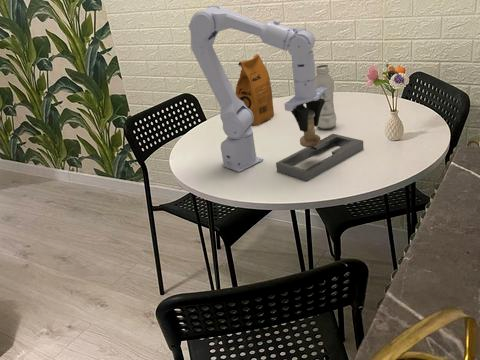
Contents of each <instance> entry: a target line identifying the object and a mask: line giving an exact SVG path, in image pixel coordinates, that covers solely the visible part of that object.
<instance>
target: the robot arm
mask: <svg viewBox="0 0 480 360" xmlns="http://www.w3.org/2000/svg"><path fill="white" fill-rule="evenodd" d="M298 28H299V27H296V26H293V27H291V26H288V25H285V24H283V23H282V24H281V21H280V20H278V19H275V20H269V21H267V22H265V23H264V22H261V21H258V20H255V19H253V18H250V17H248V16H246V15H243V14H240V13H239V12H238V13H237V12H236V11H233V10H231V9H229V8H226V7H220V6H218V5H210V6H207V8H205V9H202V10H200V11H196V12H195V13H194V14H193V15H192V17H191V20H190V22H189V24H188V29H189V31H190V48H191V50H192V51H191V52H193V55H194V58H195V59H196V60H197V63H198V65H199V67H200V69H201V71H202V74H203V75H204V77H205V79H206V81H207V83H208V85H209V87H210V89H211V91H212V92H213V94H214V97H215V98H216V101H217V103H218V105H219V107H220V114H219V117H220V119H221V122H222V130H223V132H224V134H225V135H226V136H227V137H226V138H225V139H224V140H223V141H222V142H221V143H220V151H221V158H222V164H221V165H222V167H224V168H226V169H227V168H228V169H230V170H232V171H235V172H237V173H239V172H240V173H241V172H242V171H243V172H244V170H247V169H248V168H251V167H252V166H254V165H257V164H258V163H261V162H263V161H264V158H262V157H259V156H257V152H256V145H255V139H254V131H253V129H252V125H251V124H252V123H253V120H254V116H253V113H252V112H251V110H250V109H248V108H247V107H246V106H245V104H244V102H243V101H242V100H240V99H238V98H237V96H236V91H235V90H234V88H233V86H232V83H231V81H230V80H229V77H228V75H227V73H226V71H225V70H224V68H223V65H222V63H221V61H220V59H219V57H218V55H217V52H216V51H215V49H214V47H213V45H214V42H215V39H216V37H217V35H218V34H219V33H220V32H222V31H226V30H228V29H231V30H235V31H236V30H237V31H240V32H243V33H247V34H250V35H253V36H257V37H259V38H260V39H261V42H262V43H263V44H266V45H268V46H271V47H274V48H277V49H280V50H283V51H287V52H288V53H289V55H291V68H292V76H293V87H294V96H293V97H291V99H289V100H287V102H285V103H283V104H284V105H283V106H284V111H287V112H290V113H291V114H292V115H293V117H294V119H295V120H296V123H297V126H298V127H299V131H300V132H303V133H304V132H307V130H308V113H309V110H313V111H314V112H315V116H314V127H318V122H319V117H320V113H321V110H322V107H323V105H324V103H325V100H324V99H320V97H321V96H326V95H327V88H324V87H321V88H318V89H317V87H316V76H317V73H316V65H315V64H316V63H315V62H316V61H315V57H314V49H313V48H314V46H315V42H316V41H315V40H316V39H315V36H314V34H313V33H312V32H311V31H310V30H308V29H307V28H300V29H298ZM306 106H307V108H306Z"/></svg>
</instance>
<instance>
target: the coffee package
mask: <svg viewBox="0 0 480 360" xmlns="http://www.w3.org/2000/svg"><path fill="white" fill-rule="evenodd" d="M237 65H238V66H239V67H240V68H241V70H240V72H239V73H240V74H239V78H238V80H237V83H236V87H235V94H236V96H237V98H238V99H240V100H242V101H243V102H244V104H245V106H246V107H247V108H248V109H250V110H251V112H252V113H253V116H254V120H253V123H252V124H251V126H260V125H261V124H262V123H263V122H268V121H269V120H270V119H271V118H272V117H273V116H274V115H275V111H274V102H273V90H272V89H273V88H272V84H271V79H270V75H269V71H268V69H267V67H266V65H265V64H264V62H263V60H262V59H261V57H260V54H258V53H256V54H255V55H254V56H253V58H252V59H248V60H247V59H246V60H242V61H239V62H238V64H237Z"/></svg>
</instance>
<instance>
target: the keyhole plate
mask: <svg viewBox="0 0 480 360" xmlns="http://www.w3.org/2000/svg"><path fill="white" fill-rule="evenodd" d="M320 140H321V142H320V144H318V145H317V146H314V147H304V148H302V149H300V150H298V151H296V152H294V153H293V154H290V155H289V156H286V157H285V158H283V159H280V160H279V161H277V162H276V163H275V165H276V166H275V167H276V172H277V171H278V173H280V172H281V174H283V175H287V176H289V177H292V178H294V179H295V178H296V179H298V180H301V181H303V182H308V181H310V180H311V179H314V178H316V177H317V176H319V175H320V174H322V173H324V172H326V171H327V170H330V169H331V168H333V167H335V166H337V165H338V164H340V163H341V162H343V161H345V160H347V159H348V158H350V157H352V156H354V155H356V154H358V153H360V152H362V151H363V150H364V149H365V148H364V140H362V139H357V138H354V137H348V136H345V135H341V134H337V133H336V134H335V133H332V134H330V135H328V136H325V137H323V138H322V139H320ZM332 144H333V145H335V146H339V147H338V148H336V149H334V150H333V151H331V155H330V156H327V157H326V158H323V160H321V161H319V162H317V163H315V164H313V165H311V166H310V167H308V168H306V169H304V168H303V169H302V168H300V167H297V166H295V165H297V164H299V163H300V161H301V162H303V161H304V160H306V159H308V158H310V157H312V156H313V154H314V155H316V154H318V153H319V151H320V152H322V151H323V150H325V149H327V148H329V147H331V146H333V145H332ZM330 145H331V146H330ZM317 152H318V153H317ZM315 153H316V154H315ZM311 155H312V156H311ZM302 160H303V161H302ZM298 162H299V163H298ZM296 163H297V164H296Z"/></svg>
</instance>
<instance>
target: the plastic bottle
mask: <svg viewBox="0 0 480 360" xmlns="http://www.w3.org/2000/svg"><path fill="white" fill-rule="evenodd" d="M329 72H330V70H329V65H327V64H320V65H317V66H315V74H316V87H317V89H318V88H321V87H324V88H327V95H326V96H321V97H320V99H324V100H325V103H324V105H323V107H322V110H321V113H320V117H319V122H318V126H317V127H318V128H320V129H322V130H329V129H332V128H334V127H335V126H336V124H337V115H336V113H335V111H336V110H335V106H334V104H335V103H334V86H335V85H334V84H335V81H334V79H333V78H332V75H330V74H329Z"/></svg>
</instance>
